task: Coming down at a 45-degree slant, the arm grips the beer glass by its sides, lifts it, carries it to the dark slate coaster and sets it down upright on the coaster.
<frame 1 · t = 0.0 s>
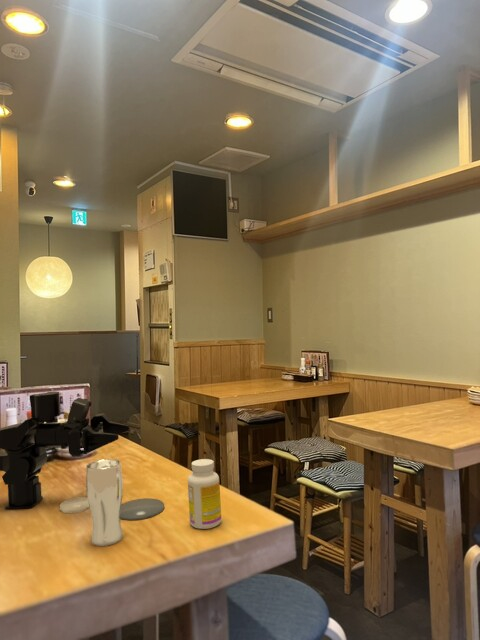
hand: (124, 432, 114), 17 cm above the table, tool horizontal, fingers open, 9 cm apart
coaster: (140, 510, 108), on the table
supplement bottle: (205, 524, 99), on the table
beer glass: (107, 540, 94), on the table
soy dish: (76, 508, 112), on the table
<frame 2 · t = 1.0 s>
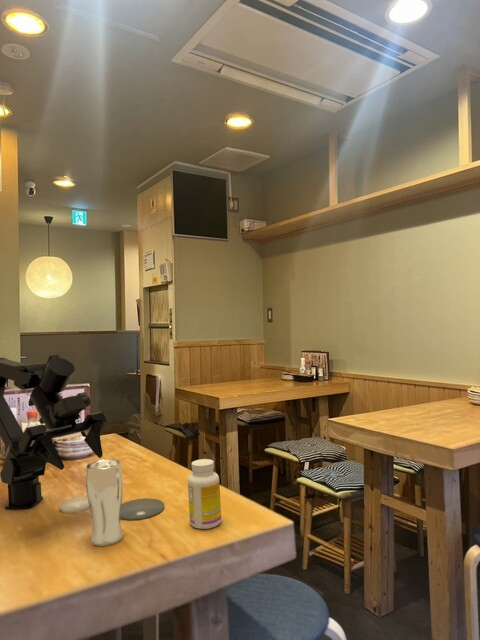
hand: (82, 462, 100), 14 cm above the table, tool tilted 45°, fingers open, 9 cm apart
nothing on the table moved.
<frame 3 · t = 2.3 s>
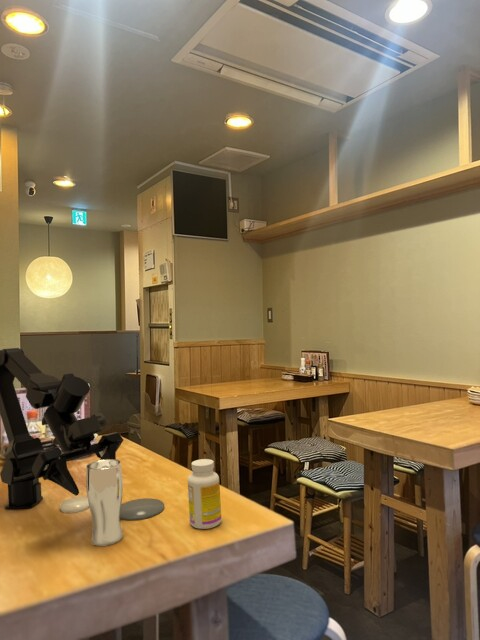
hand: (98, 487, 96), 10 cm above the table, tool tilted 45°, fingers open, 9 cm apart
nothing on the table moved.
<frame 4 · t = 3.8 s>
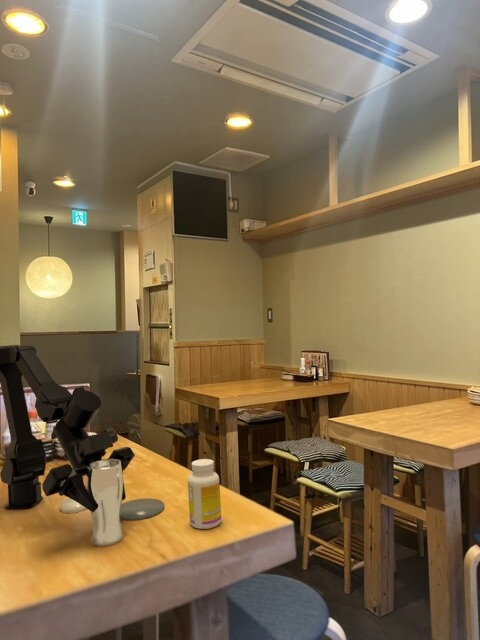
hand: (109, 504, 93), 7 cm above the table, tool tilted 45°, fingers closed on beer glass, 7 cm apart
beer glass: (107, 539, 94), on the table, touching gripper
everything else where it was.
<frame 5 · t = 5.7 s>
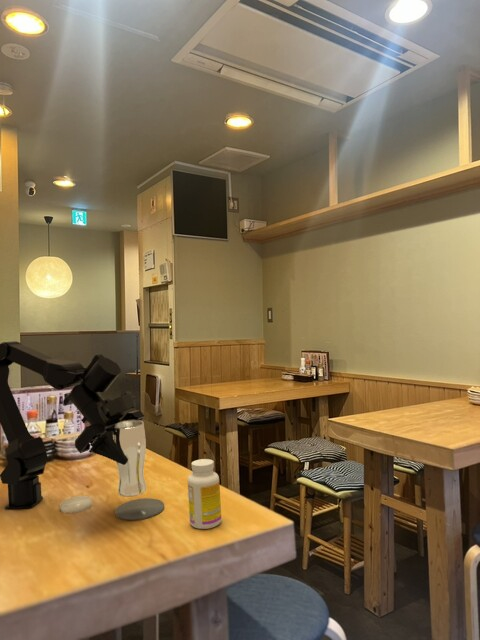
hand: (135, 458, 103), 13 cm above the table, tool tilted 45°, fingers closed on beer glass, 6 cm apart
beer glass: (132, 491, 104), point 6 cm above the table, touching gripper
everything else where it was.
when the fingers open (8 cm above the table, at t = 7.7 s): beer glass stays where it is, resting on coaster.
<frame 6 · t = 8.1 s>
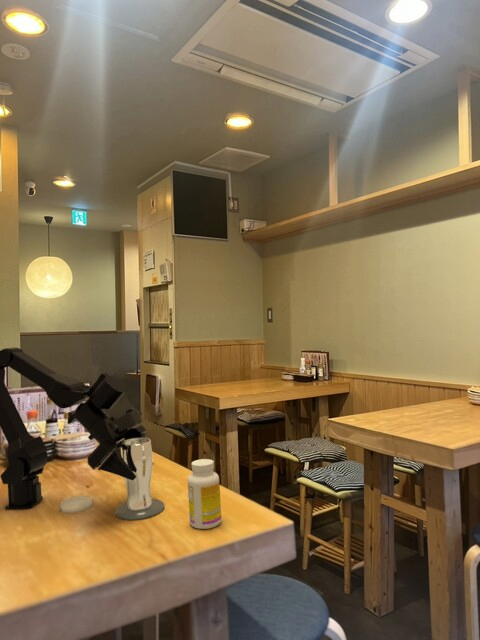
hand: (143, 471, 108), 9 cm above the table, tool tilted 45°, fingers open, 9 cm apart
beer glass: (139, 507, 109), resting on coaster
everything else where it was.
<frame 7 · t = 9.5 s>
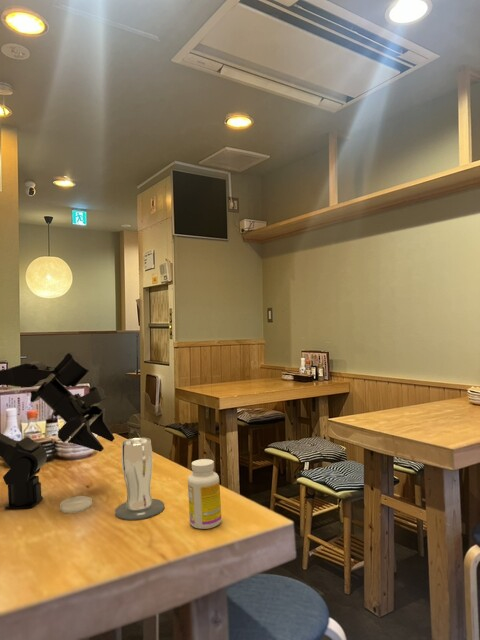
hand: (108, 444, 115), 13 cm above the table, tool tilted 45°, fingers open, 9 cm apart
nothing on the table moved.
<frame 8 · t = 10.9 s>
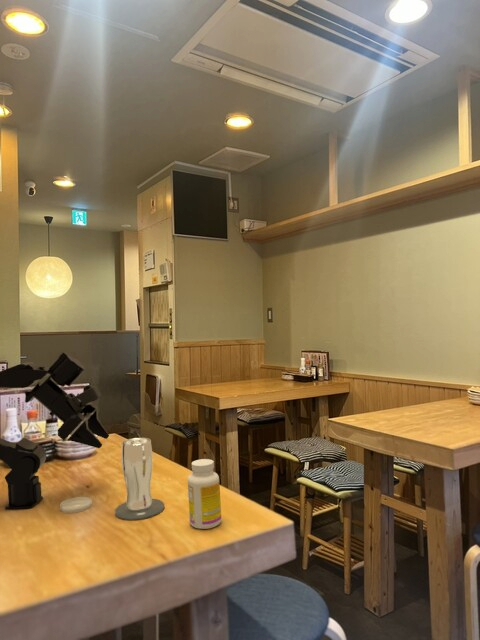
hand: (104, 441, 118), 14 cm above the table, tool tilted 45°, fingers open, 9 cm apart
nothing on the table moved.
at the end: beer glass 0.7 cm from the coaster (horizontally); beer glass tilted 0°; the gripper is holding nothing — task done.
